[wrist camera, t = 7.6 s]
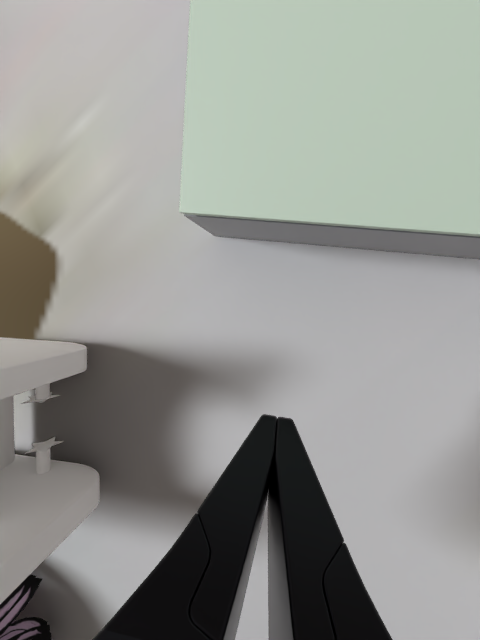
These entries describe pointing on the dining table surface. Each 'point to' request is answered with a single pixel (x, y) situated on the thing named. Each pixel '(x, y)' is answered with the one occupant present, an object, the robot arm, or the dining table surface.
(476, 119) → the cover
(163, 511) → the dining table surface
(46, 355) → the cable organizer
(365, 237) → the grey open box
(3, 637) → the decorative flower
